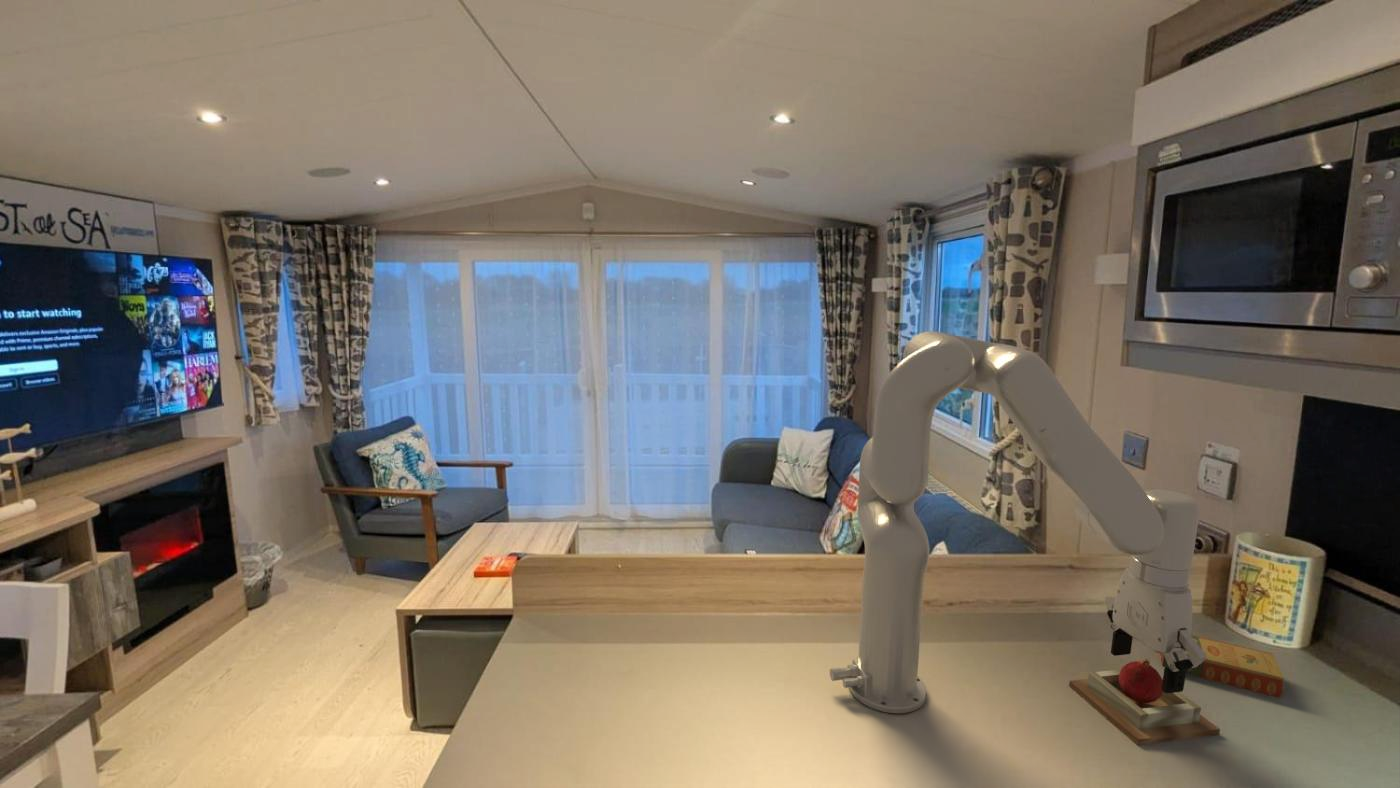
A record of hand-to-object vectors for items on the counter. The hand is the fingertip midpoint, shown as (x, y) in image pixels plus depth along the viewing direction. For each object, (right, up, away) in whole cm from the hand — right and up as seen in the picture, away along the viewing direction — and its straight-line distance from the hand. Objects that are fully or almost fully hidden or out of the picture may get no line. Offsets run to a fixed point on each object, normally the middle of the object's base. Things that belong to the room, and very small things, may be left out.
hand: (1145, 671), depth 100 cm
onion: (0, -5, +1) cm, 6 cm away
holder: (0, -7, +1) cm, 7 cm away
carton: (+20, -5, +11) cm, 24 cm away
